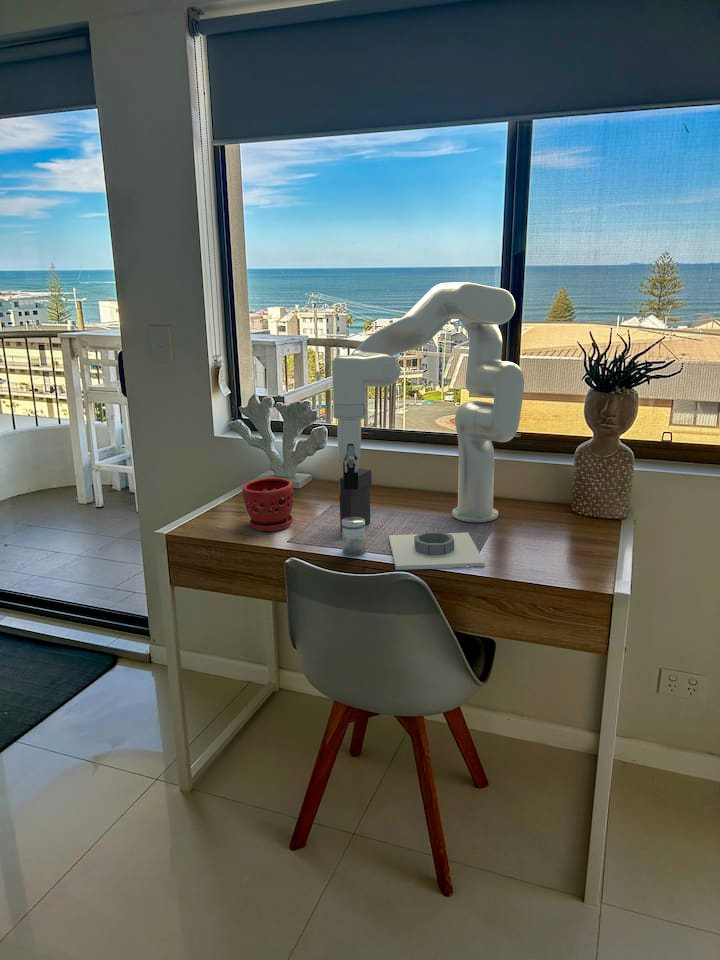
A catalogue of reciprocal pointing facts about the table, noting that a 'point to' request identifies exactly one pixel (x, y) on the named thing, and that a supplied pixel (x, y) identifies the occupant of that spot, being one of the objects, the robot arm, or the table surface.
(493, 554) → the table surface
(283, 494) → the plant pot
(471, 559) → the holder
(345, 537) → the piston
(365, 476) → the upright black box
